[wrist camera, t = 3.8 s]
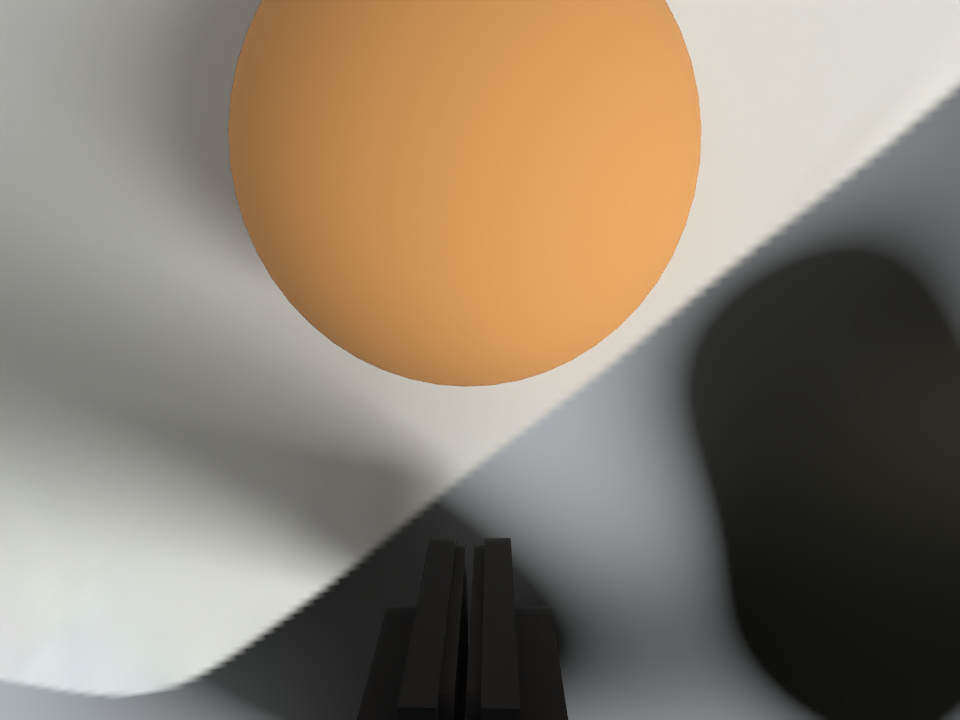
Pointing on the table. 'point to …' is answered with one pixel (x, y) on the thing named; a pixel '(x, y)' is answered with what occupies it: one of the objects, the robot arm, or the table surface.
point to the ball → (465, 173)
